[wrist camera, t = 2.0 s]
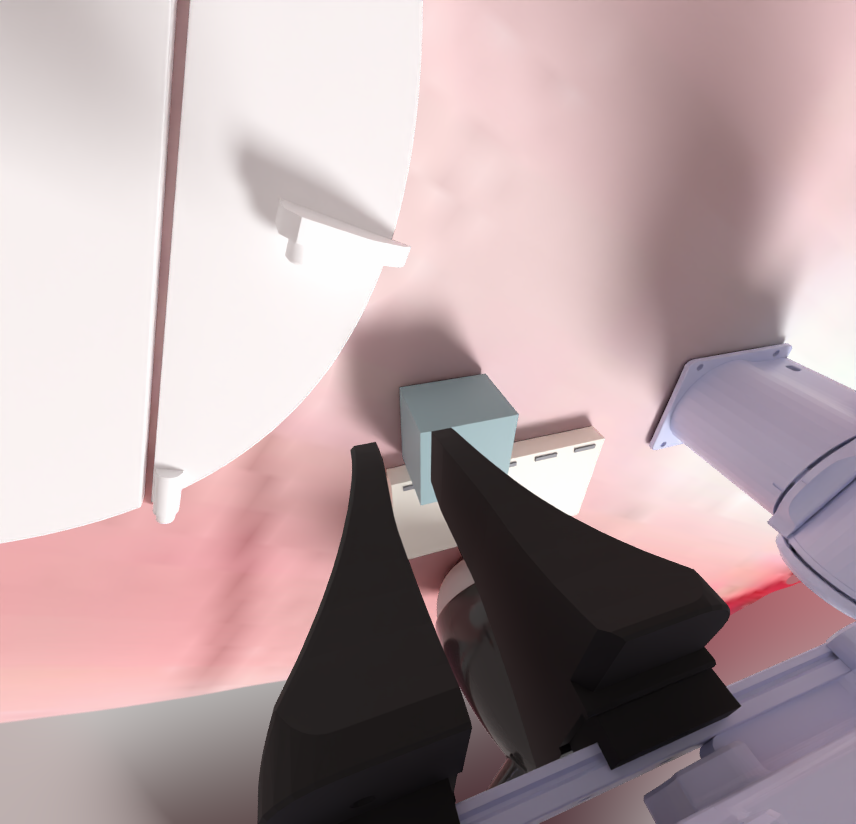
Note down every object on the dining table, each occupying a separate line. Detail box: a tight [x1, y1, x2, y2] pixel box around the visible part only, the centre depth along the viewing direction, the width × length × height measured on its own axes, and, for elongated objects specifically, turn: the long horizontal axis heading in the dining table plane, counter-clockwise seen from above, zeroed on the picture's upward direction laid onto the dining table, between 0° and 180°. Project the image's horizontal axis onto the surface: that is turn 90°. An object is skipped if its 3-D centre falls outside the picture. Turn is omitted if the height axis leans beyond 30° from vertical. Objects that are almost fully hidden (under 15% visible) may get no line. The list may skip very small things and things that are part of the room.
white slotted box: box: [386, 426, 605, 560], centre depth 29 cm, size 15×8×2 cm, turn 89°
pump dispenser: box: [436, 559, 537, 791], centre depth 29 cm, size 10×10×15 cm
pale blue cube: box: [399, 374, 519, 505], centre depth 22 cm, size 5×5×4 cm
